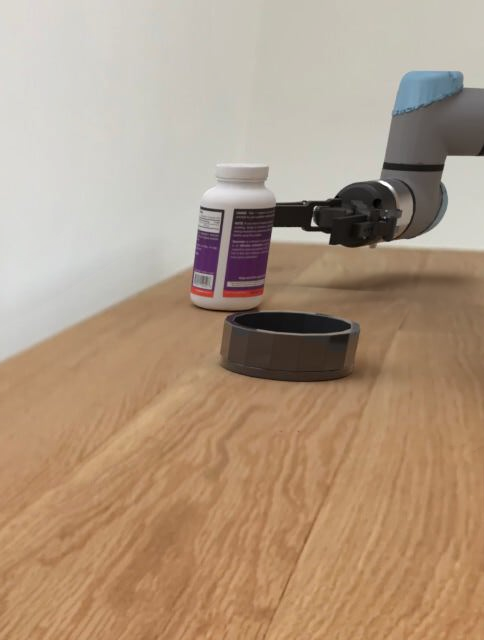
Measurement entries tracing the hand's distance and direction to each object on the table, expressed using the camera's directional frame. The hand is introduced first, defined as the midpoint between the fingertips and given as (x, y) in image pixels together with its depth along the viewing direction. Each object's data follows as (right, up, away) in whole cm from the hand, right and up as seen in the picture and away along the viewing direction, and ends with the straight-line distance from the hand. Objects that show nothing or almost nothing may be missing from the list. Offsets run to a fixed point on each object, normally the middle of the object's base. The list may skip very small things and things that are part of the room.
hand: (279, 226), depth 128 cm
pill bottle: (-7, -10, -2) cm, 12 cm away
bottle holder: (-8, -25, -28) cm, 38 cm away
